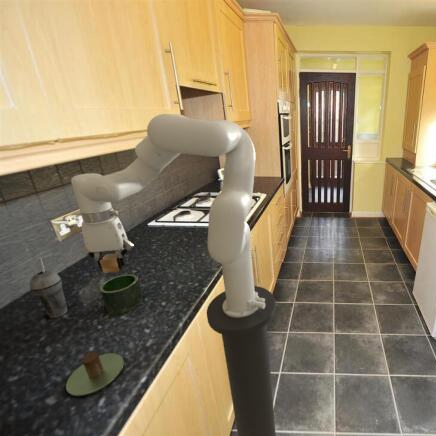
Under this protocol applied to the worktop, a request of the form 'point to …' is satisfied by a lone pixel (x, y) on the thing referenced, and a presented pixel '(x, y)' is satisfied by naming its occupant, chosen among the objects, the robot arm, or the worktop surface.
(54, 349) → the worktop surface
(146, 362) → the worktop surface
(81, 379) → the lid
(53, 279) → the beverage cup
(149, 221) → the worktop surface
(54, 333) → the worktop surface
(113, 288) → the tin
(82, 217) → the robot arm
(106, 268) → the block
